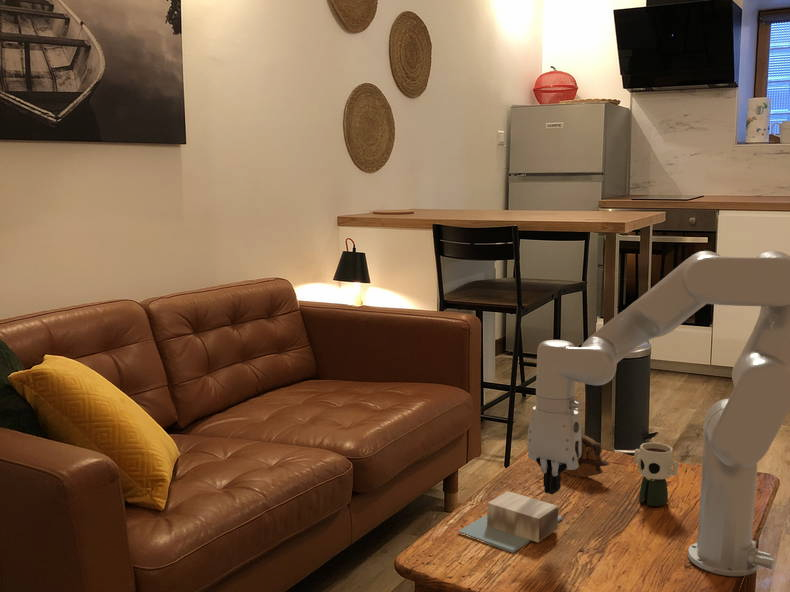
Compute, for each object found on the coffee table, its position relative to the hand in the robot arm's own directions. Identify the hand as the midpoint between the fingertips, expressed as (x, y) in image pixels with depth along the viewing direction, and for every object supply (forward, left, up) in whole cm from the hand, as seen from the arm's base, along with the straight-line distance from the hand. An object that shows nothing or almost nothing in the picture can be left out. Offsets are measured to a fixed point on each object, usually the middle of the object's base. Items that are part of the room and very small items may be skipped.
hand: (551, 491), depth 164 cm
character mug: (-9, -31, -10) cm, 34 cm away
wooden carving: (+12, -35, -10) cm, 38 cm away
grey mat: (+9, 0, -10) cm, 14 cm away
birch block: (0, 0, -7) cm, 7 cm away
